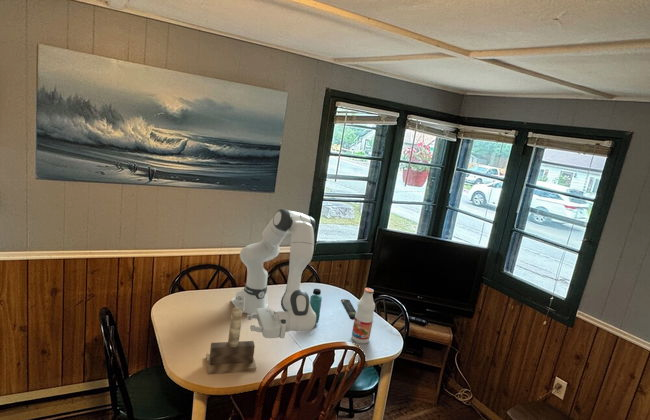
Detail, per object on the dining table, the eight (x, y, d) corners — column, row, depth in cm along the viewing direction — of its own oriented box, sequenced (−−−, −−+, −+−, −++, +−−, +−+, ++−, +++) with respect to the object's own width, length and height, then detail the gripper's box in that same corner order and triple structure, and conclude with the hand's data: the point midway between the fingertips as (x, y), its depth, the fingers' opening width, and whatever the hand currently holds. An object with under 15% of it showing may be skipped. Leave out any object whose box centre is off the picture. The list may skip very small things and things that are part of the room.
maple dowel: (225, 343, 176) (229, 308, 173) (235, 340, 179) (239, 306, 176) (231, 348, 173) (235, 313, 170) (240, 345, 176) (244, 311, 173)
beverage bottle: (314, 328, 220) (319, 293, 216) (303, 323, 223) (308, 289, 219) (320, 324, 225) (325, 290, 221) (310, 319, 229) (315, 286, 224)
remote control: (350, 319, 237) (350, 317, 236) (340, 301, 260) (341, 299, 259) (359, 320, 238) (359, 318, 238) (348, 301, 261) (349, 299, 260)
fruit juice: (372, 341, 216) (382, 291, 210) (360, 345, 209) (370, 294, 203) (359, 332, 222) (368, 284, 216) (347, 337, 216) (356, 287, 210)
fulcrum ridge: (207, 374, 169) (209, 353, 167) (206, 357, 180) (208, 337, 178) (256, 370, 176) (258, 350, 174) (251, 354, 187) (253, 336, 185)
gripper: (276, 304, 190) (246, 304, 185) (286, 326, 171) (253, 327, 166) (274, 316, 191) (244, 317, 186) (284, 340, 172) (251, 341, 168)
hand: (248, 322), depth 176 cm, fingers open, 8 cm apart
